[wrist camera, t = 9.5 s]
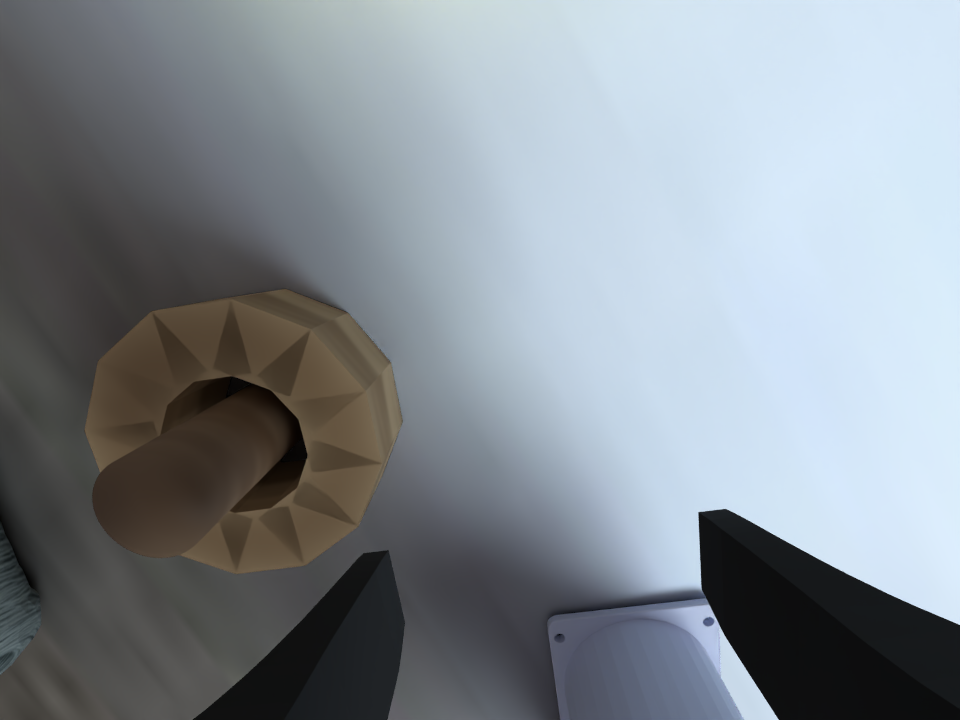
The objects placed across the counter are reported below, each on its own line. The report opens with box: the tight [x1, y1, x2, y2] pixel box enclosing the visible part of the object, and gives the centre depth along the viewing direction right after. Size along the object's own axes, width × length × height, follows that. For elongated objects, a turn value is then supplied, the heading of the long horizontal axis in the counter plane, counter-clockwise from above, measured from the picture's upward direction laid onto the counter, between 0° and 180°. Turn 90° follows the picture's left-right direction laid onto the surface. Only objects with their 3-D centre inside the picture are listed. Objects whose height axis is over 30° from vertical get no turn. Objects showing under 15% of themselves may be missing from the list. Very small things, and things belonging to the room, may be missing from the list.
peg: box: [92, 383, 303, 558], centre depth 16 cm, size 3×3×8 cm
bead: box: [85, 289, 403, 574], centre depth 18 cm, size 10×10×4 cm
